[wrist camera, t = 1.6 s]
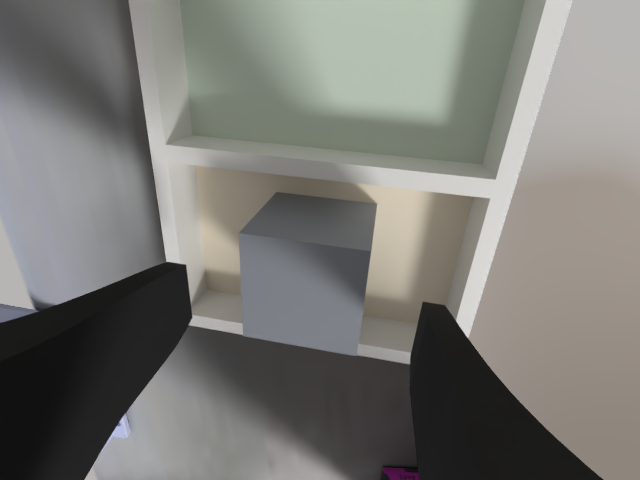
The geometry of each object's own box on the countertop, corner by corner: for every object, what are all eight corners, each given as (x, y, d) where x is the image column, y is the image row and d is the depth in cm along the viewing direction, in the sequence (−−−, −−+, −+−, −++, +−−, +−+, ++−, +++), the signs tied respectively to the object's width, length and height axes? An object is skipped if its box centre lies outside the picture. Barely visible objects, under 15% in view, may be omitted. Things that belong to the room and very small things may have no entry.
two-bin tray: (449, 331, 17) (457, 372, 14) (201, 291, 18) (175, 322, 16) (568, -99, 10) (617, -145, 8) (162, -102, 12) (108, -141, 9)
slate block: (365, 290, 16) (356, 356, 12) (275, 277, 16) (242, 335, 13) (377, 203, 14) (371, 251, 10) (276, 191, 15) (238, 232, 11)
